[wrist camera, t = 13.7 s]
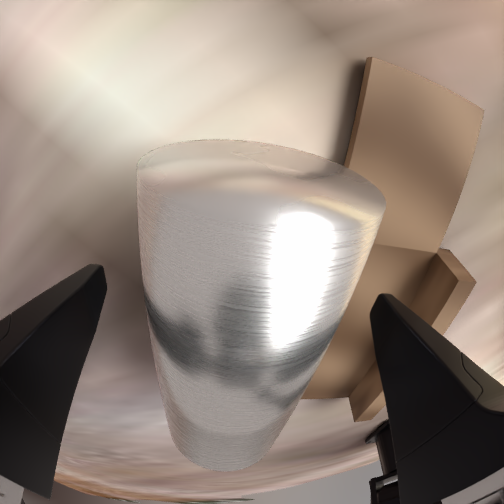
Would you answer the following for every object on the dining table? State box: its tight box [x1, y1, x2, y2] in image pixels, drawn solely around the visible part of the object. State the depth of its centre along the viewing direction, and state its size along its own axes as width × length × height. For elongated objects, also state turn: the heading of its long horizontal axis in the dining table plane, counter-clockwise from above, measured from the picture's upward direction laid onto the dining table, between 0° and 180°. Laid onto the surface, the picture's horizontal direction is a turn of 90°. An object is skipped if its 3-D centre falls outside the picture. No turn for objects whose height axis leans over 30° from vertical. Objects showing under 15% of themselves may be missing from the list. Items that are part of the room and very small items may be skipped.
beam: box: [301, 57, 484, 422], centre depth 14 cm, size 22×9×3 cm, turn 172°
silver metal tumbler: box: [137, 139, 386, 471], centre depth 10 cm, size 13×6×6 cm, turn 172°
